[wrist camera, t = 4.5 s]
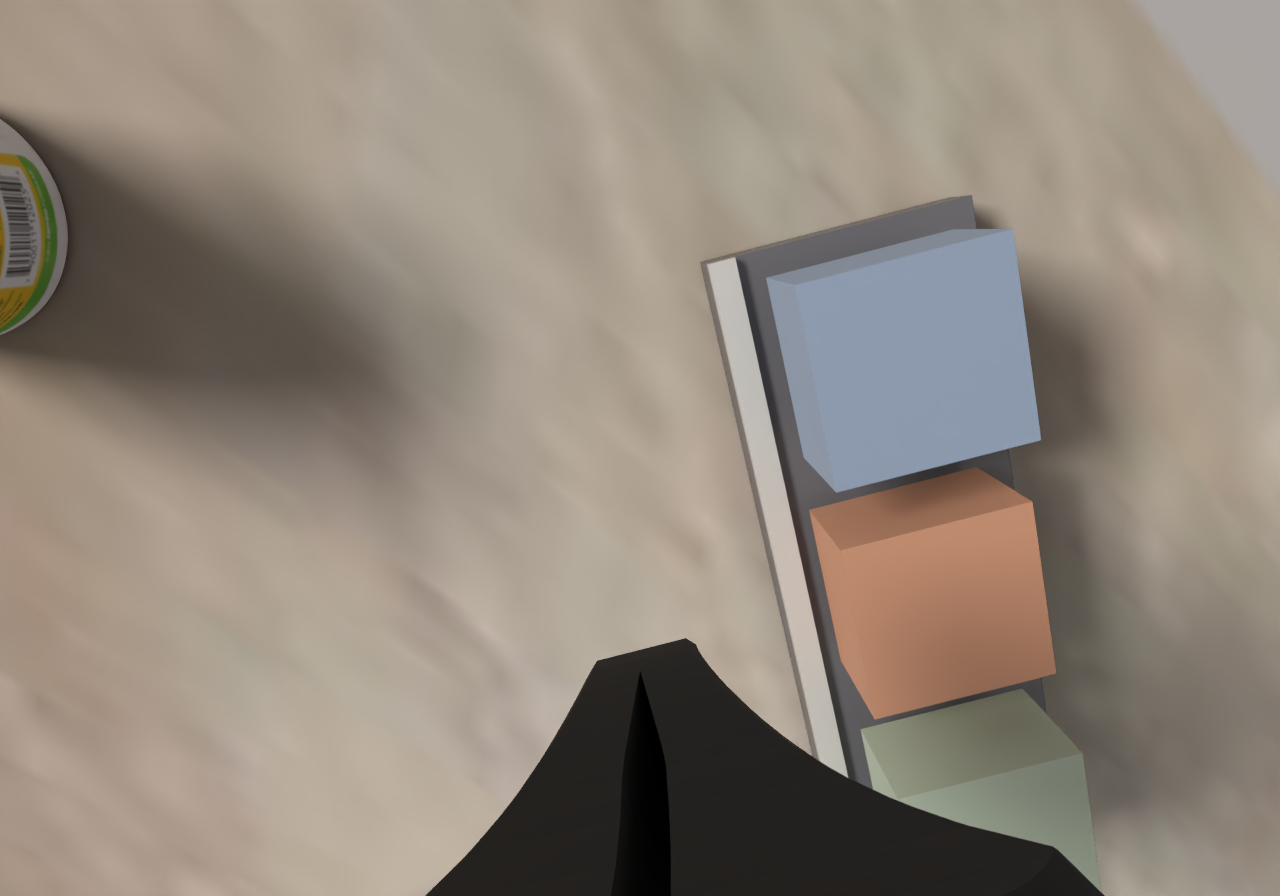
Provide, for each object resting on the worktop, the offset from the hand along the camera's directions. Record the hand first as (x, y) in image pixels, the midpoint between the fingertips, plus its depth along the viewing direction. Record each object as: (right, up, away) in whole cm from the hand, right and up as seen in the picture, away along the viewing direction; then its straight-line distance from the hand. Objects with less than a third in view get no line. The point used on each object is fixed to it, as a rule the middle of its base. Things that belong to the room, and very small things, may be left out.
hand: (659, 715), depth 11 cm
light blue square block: (+5, +6, +7) cm, 10 cm away
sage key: (+8, -5, +10) cm, 13 cm away
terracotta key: (+6, +1, +9) cm, 11 cm away
